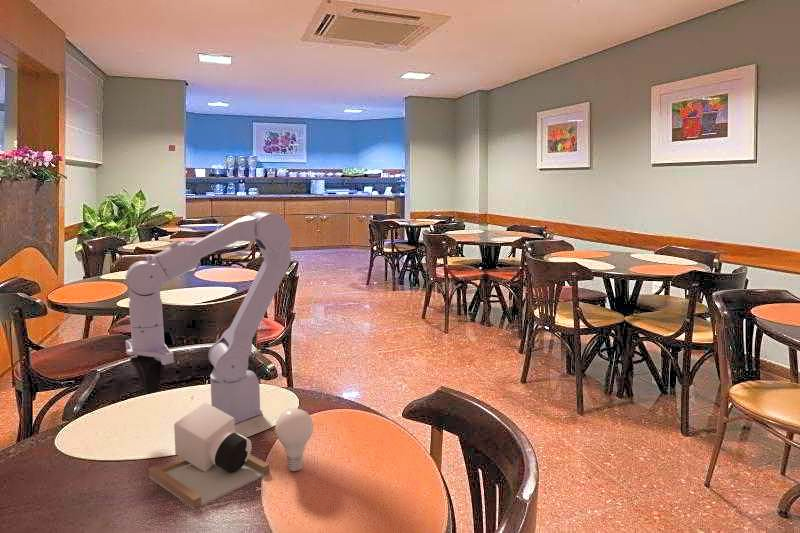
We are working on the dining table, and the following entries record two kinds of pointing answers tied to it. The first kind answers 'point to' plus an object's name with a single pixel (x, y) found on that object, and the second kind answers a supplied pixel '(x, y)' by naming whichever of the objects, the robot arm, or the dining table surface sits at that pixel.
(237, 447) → the medicine bottle
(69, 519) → the dining table surface
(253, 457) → the wooden serving tray
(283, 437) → the lightbulb
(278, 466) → the dining table surface
